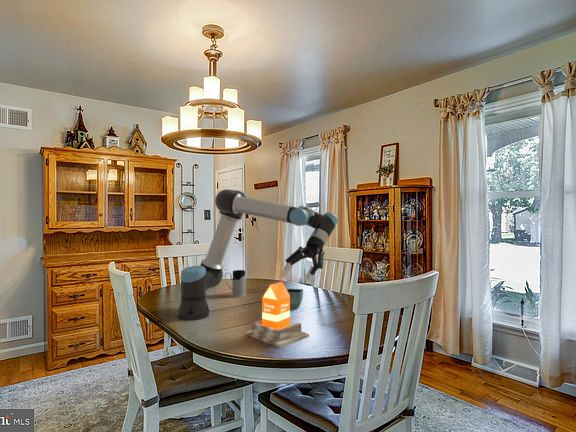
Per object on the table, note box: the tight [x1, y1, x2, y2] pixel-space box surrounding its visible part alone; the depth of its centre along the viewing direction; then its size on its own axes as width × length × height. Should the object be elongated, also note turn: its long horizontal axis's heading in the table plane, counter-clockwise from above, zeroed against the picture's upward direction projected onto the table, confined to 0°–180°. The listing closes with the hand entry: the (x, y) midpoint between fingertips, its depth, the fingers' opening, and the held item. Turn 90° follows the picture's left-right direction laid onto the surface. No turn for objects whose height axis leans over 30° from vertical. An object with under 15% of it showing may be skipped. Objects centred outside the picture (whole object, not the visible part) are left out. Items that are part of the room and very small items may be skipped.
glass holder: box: [224, 269, 247, 298], centre depth 213 cm, size 9×14×15 cm, turn 68°
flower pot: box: [286, 288, 304, 310], centre depth 185 cm, size 9×9×9 cm
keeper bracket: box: [245, 319, 310, 349], centre depth 142 cm, size 20×16×5 cm
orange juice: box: [261, 281, 291, 330], centre depth 142 cm, size 8×9×20 cm
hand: (294, 278), depth 149 cm, fingers open, 13 cm apart
